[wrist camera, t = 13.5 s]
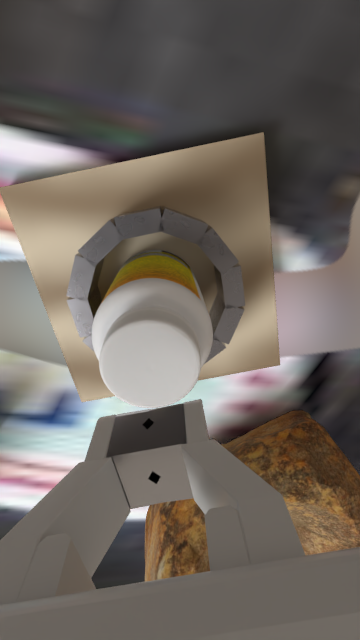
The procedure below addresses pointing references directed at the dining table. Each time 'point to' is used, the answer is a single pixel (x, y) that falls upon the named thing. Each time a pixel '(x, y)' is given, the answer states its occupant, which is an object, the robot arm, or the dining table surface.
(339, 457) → the rough brown rock
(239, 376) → the dining table surface
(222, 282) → the grey segmented ring
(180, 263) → the supplement bottle
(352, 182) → the dining table surface
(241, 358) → the birch board
